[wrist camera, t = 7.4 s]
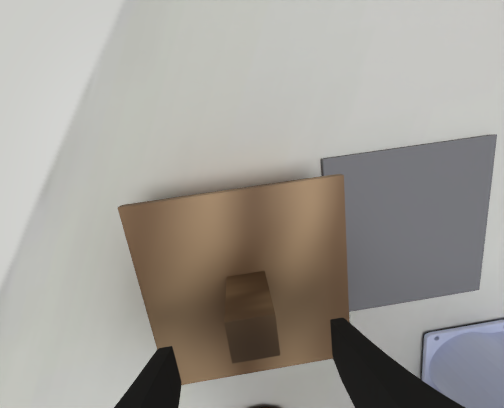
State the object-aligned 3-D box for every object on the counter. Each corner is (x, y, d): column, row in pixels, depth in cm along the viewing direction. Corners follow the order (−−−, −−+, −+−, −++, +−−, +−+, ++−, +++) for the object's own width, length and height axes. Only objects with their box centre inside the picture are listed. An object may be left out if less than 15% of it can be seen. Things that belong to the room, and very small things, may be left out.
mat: (491, 134, 19) (497, 134, 19) (474, 287, 23) (479, 289, 23) (321, 158, 19) (322, 159, 19) (330, 311, 22) (332, 314, 22)
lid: (339, 173, 15) (385, 186, 10) (346, 348, 18) (384, 415, 13) (122, 205, 14) (71, 233, 10) (170, 379, 17) (148, 460, 13)
